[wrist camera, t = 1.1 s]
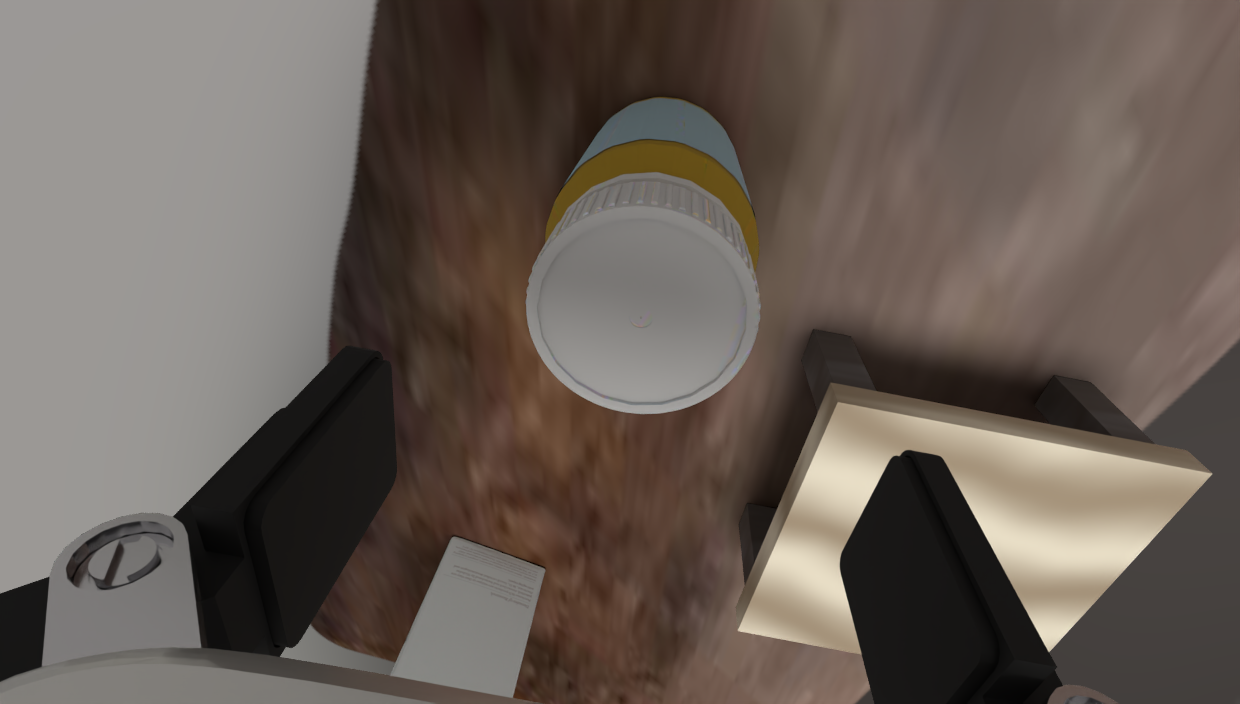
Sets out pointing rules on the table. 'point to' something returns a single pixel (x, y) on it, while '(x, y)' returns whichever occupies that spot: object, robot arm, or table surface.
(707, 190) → the bottle
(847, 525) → the footstool
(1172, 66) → the table surface
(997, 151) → the table surface
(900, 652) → the robot arm
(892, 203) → the table surface
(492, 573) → the supplement box
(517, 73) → the table surface
